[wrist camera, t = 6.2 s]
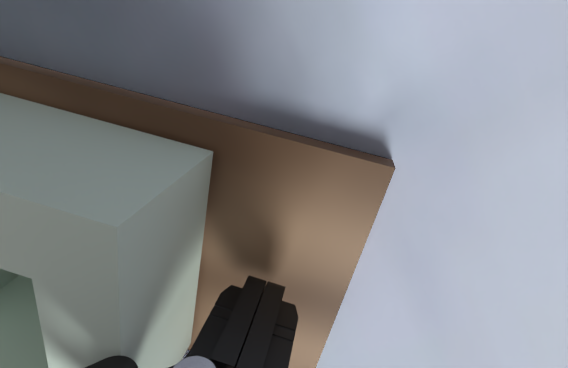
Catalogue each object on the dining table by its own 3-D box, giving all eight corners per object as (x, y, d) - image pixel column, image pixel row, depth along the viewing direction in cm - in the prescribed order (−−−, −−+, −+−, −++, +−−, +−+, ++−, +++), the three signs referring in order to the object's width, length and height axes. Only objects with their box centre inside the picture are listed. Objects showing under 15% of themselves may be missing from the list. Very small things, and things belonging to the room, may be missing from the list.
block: (-41, 81, 12) (-283, 105, 7) (213, 151, 11) (116, 227, 6) (6, 281, 16) (-127, 374, 12) (190, 342, 15) (123, 467, 11)
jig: (-60, 40, 12) (-586, 37, 5) (392, 159, 11) (464, 367, 4) (-3, 271, 18) (-234, 420, 11) (308, 373, 16) (276, 626, 9)
